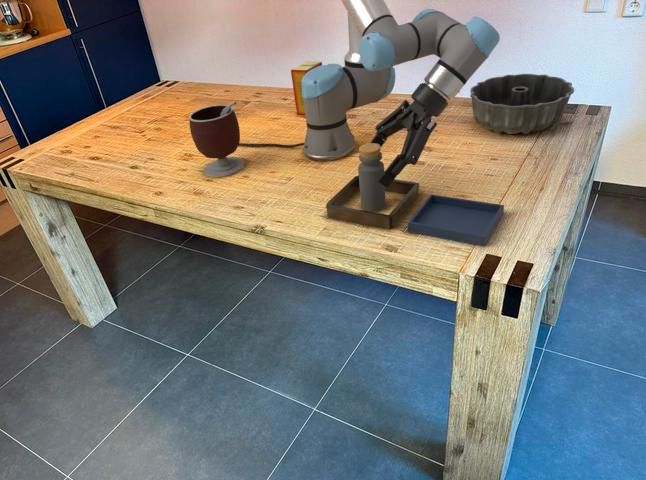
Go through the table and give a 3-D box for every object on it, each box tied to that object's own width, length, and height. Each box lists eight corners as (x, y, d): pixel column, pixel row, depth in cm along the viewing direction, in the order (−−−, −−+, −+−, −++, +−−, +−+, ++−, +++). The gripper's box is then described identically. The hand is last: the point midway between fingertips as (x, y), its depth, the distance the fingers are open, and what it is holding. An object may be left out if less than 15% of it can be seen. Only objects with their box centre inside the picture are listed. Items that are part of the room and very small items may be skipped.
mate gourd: (193, 178, 151) (174, 112, 139) (215, 157, 161) (199, 94, 149) (239, 179, 145) (224, 110, 133) (258, 158, 155) (246, 92, 143)
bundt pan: (590, 125, 137) (598, 88, 131) (505, 150, 133) (509, 113, 128) (525, 100, 158) (529, 67, 152) (450, 121, 154) (451, 88, 149)
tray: (407, 231, 110) (407, 222, 109) (430, 202, 118) (430, 194, 117) (484, 246, 101) (485, 236, 100) (503, 214, 109) (504, 205, 108)
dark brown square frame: (325, 217, 120) (324, 205, 118) (358, 185, 130) (357, 174, 129) (391, 230, 111) (390, 217, 109) (420, 195, 122) (420, 182, 120)
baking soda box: (312, 116, 177) (306, 69, 168) (297, 115, 181) (290, 68, 171) (326, 106, 183) (321, 60, 173) (311, 105, 186) (306, 60, 177)
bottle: (385, 211, 118) (382, 151, 109) (360, 212, 119) (355, 153, 111) (386, 199, 122) (383, 140, 114) (362, 200, 124) (357, 142, 115)
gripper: (475, 119, 99) (403, 203, 107) (424, 86, 119) (367, 159, 127) (450, 98, 96) (378, 186, 104) (402, 68, 116) (345, 144, 124)
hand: (372, 172), depth 116 cm, fingers open, 13 cm apart
